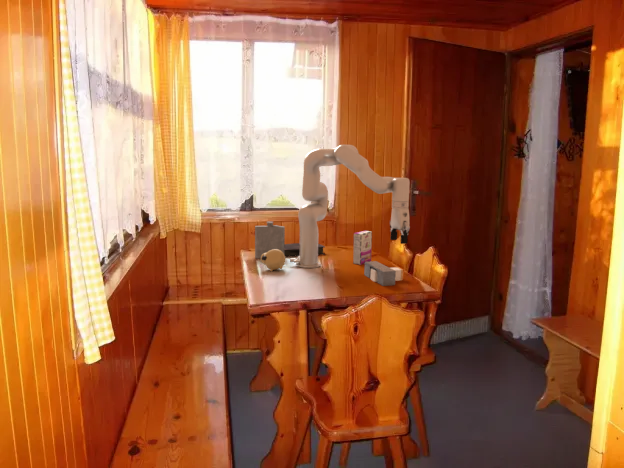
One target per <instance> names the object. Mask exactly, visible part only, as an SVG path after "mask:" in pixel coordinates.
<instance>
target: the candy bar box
mask: <svg viewBox="0 0 624 468" xmlns="http://www.w3.org/2000/svg"><path fill="white" fill-rule="evenodd" d="M372 237H373V232H372V231H369V230H363V231H359V232H358V231H357V232H354V233H353V255H352V256H353V257H352V258H353V265H354V264H355V265H360V266H361V265H365V262H370V261H372V247H373V246H372V244H373V243H372V242H373V240H372V239H373V238H372Z"/></svg>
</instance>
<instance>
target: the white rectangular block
mask: <svg viewBox="0 0 624 468" xmlns="http://www.w3.org/2000/svg"><path fill="white" fill-rule="evenodd" d="M390 268H391V269H393V270H395V271H396V276H395V282H396V281H397V282H398V281H403V280H404V279H403V277H404V274H403V273H404V269H402V268H401V267H399V266H398V267H390ZM377 271H378V270H376V269H371V275H370V278H369V279H370V280H371V281H372V282H374V283H377Z"/></svg>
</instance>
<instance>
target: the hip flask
mask: <svg viewBox="0 0 624 468" xmlns="http://www.w3.org/2000/svg"><path fill="white" fill-rule="evenodd" d="M285 229H286V227H285V226H284V225H283V226H282V225H277V224H275V225H274V221H266V225H255V226H254V258H255V259H257V260H259V259H260V260H261V255H262V254H263V253H267V252H268V251H270V250H272V249H279V250H281V251H282V252H283V253H284V244H286V243H285V237H286V235H285Z"/></svg>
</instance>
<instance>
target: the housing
mask: <svg viewBox="0 0 624 468" xmlns="http://www.w3.org/2000/svg"><path fill="white" fill-rule="evenodd" d="M391 268H392V267H389V266H386V265H385V264H383V263H381V262H379V261H376V260H373V261H372V260H371V261H370V262H365V263H364V275H363V276H365V277H367V278H368V279H370V275H371V269H376V270H378V271H377V282H376V283H377V284H379V285H380V286H382V287H385V286H387V287H389V286H396V281H395V276H396V271H395V270H393V269H391Z"/></svg>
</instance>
